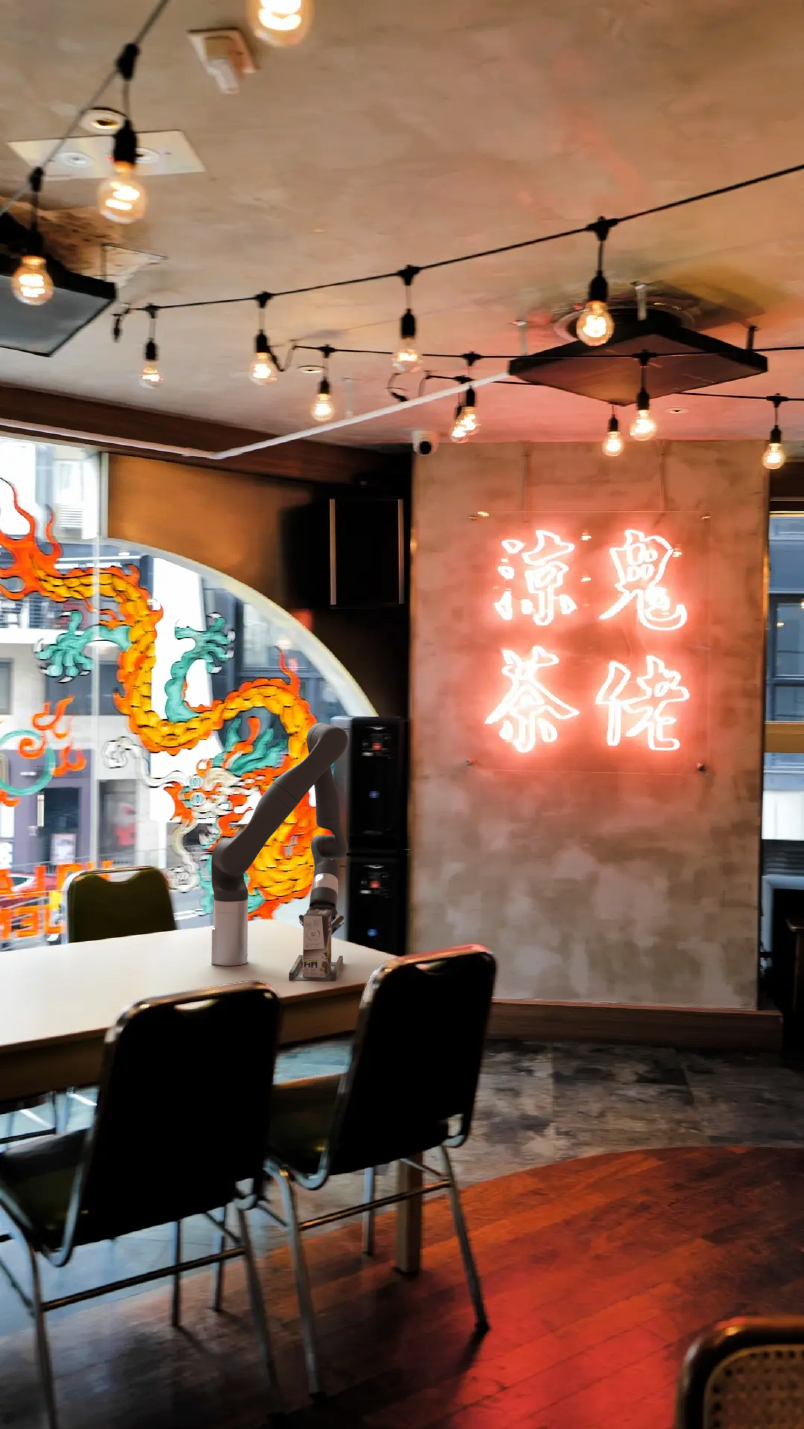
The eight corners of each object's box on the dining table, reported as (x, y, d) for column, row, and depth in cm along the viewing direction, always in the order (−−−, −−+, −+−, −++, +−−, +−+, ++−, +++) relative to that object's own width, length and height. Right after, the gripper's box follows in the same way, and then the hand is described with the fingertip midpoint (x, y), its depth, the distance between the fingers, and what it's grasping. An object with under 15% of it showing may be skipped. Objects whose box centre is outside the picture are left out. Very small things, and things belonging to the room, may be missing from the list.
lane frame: (288, 980, 287) (288, 972, 287) (299, 962, 308) (299, 954, 308) (335, 981, 287) (335, 973, 287) (342, 962, 308) (342, 955, 308)
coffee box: (326, 978, 290) (327, 915, 290) (301, 977, 291) (302, 914, 291) (332, 970, 299) (332, 909, 299) (308, 969, 300) (308, 908, 300)
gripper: (299, 885, 312) (292, 938, 299) (347, 886, 311) (342, 939, 299) (301, 901, 317) (295, 954, 305) (348, 902, 316) (344, 955, 304)
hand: (318, 946), depth 302 cm, fingers closed
